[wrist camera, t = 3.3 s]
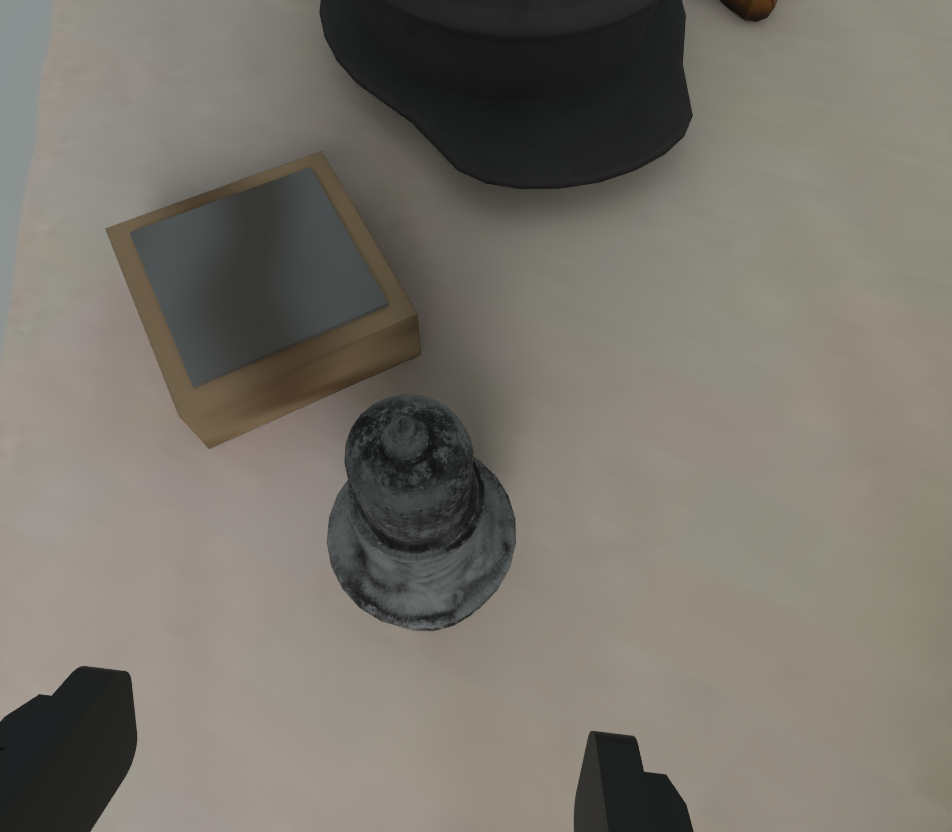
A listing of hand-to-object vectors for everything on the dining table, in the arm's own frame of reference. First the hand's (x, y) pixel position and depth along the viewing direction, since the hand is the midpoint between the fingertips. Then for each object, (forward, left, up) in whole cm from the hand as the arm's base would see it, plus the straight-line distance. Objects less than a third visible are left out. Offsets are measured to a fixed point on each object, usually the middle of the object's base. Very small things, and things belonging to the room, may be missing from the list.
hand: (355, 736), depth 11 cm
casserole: (-19, -28, -11) cm, 35 cm away
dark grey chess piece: (-3, -5, -11) cm, 13 cm away
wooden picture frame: (-2, -17, -11) cm, 20 cm away
